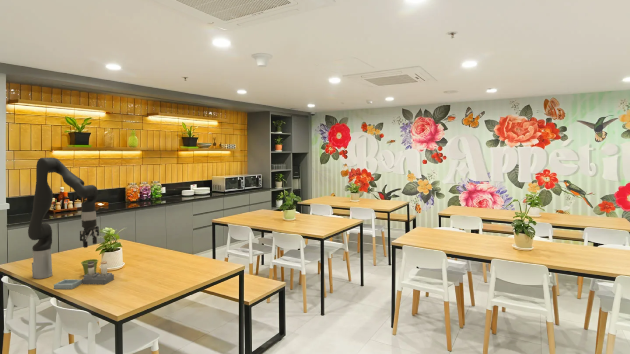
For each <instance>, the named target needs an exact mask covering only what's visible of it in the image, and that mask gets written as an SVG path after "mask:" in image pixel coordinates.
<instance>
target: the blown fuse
mask: <svg viewBox="0 0 630 354" xmlns="http://www.w3.org/2000/svg"><path fill="white" fill-rule="evenodd" d="M94 274H95V273H94V261H89V262H88V275H94Z"/></svg>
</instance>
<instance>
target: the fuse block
mask: <svg viewBox="0 0 630 354" xmlns="http://www.w3.org/2000/svg"><path fill="white" fill-rule="evenodd" d="M114 279H115V274H113V272H107V275H106V276H101V273H99V272H96V273H95V274H94V275H88V274H86V275H85V274H84V275H83V278H82V279H81V280H82V284H81V285H107V284H108V283H110V282H112V281H113V280H114Z"/></svg>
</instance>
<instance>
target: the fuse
mask: <svg viewBox="0 0 630 354" xmlns="http://www.w3.org/2000/svg"><path fill="white" fill-rule="evenodd" d="M107 273H108V261H106V260H105V261H101V262H100V274H101V276H106V275H107Z"/></svg>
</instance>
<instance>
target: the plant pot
mask: <svg viewBox="0 0 630 354" xmlns="http://www.w3.org/2000/svg"><path fill="white" fill-rule="evenodd" d="M89 261H94V273H97V268H98V262H99V259H98V258H93V259H92V258H90V259H85V260H82V261H81V263H80V264H81V266H82V268H83V274H84V275H86V274H88V262H89Z"/></svg>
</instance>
